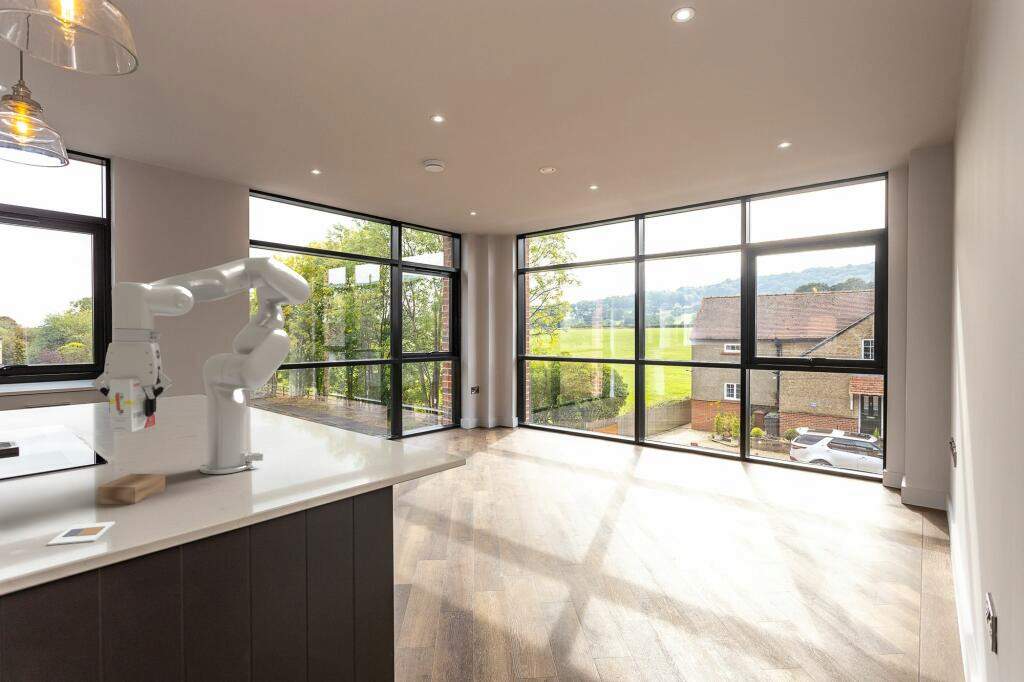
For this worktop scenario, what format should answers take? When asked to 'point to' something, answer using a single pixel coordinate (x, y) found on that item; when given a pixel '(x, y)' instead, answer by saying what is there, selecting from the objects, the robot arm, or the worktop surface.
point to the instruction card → (82, 533)
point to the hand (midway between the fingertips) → (133, 415)
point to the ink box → (128, 406)
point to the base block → (131, 488)
